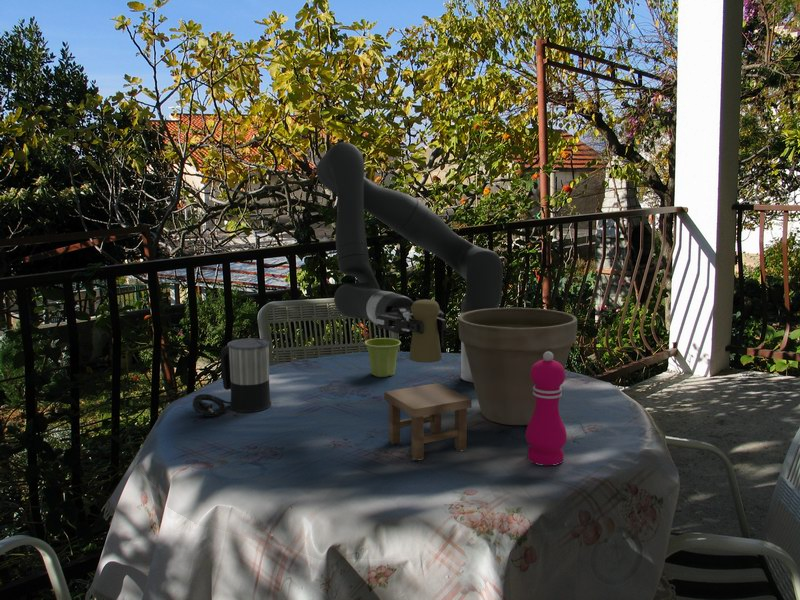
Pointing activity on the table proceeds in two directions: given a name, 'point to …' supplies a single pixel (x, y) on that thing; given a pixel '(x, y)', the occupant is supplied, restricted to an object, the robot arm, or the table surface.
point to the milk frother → (241, 378)
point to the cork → (426, 332)
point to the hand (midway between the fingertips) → (432, 327)
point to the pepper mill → (546, 413)
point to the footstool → (427, 415)
